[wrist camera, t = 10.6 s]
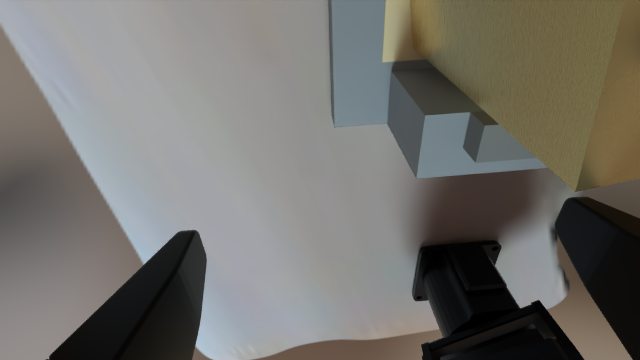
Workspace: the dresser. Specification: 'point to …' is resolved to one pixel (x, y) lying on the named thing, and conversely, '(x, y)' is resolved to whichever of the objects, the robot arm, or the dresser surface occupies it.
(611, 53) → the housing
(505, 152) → the press
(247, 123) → the dresser surface
